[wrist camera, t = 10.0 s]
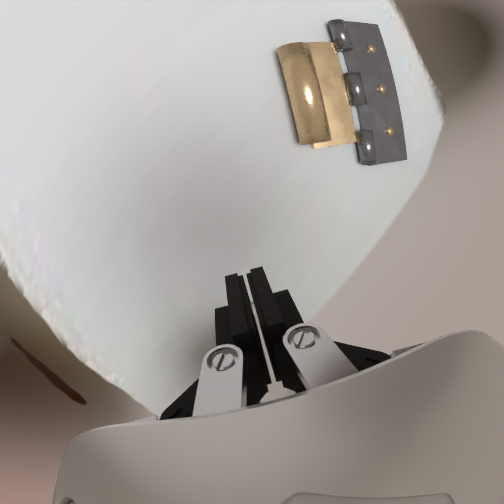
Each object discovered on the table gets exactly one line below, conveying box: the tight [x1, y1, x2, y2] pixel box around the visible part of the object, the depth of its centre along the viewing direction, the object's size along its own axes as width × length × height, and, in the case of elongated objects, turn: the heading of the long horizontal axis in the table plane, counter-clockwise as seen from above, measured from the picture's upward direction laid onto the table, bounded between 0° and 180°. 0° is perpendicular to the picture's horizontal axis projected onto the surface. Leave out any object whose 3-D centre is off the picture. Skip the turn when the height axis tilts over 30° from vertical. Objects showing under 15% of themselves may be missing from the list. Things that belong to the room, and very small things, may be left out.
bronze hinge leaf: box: [277, 42, 357, 149], centre depth 31 cm, size 16×9×4 cm, turn 13°
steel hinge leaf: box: [328, 19, 407, 166], centre depth 32 cm, size 24×10×3 cm, turn 13°
